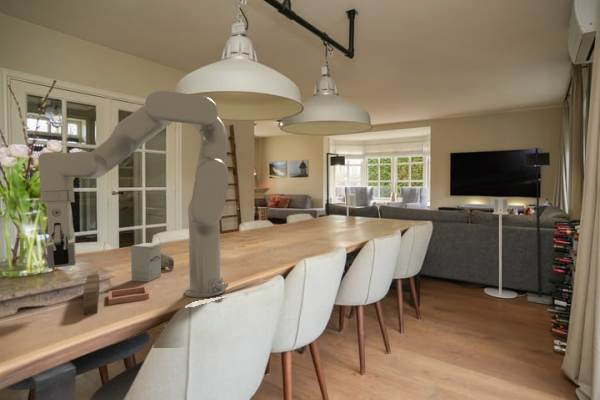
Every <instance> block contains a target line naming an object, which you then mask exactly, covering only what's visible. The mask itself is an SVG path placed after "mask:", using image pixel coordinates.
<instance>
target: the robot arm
mask: <svg viewBox="0 0 600 400" xmlns="http://www.w3.org/2000/svg"><path fill="white" fill-rule="evenodd" d="M144 102H145V103H144V105H142V106H141V107H139V108H138V109H137V110H135V111H134V112H132V113H130V114H129V115H128V116H126V117H125V118H124V119H122V120H121V121H119V122H118V123H117V124H116V126H115V127H114V129H113V131H112V133H111V135H110V136H109V137H108V138H107V139H106V140H105V141H104V142H103V143H102V144H100V145H99V146H98V147H96V148H94V149H93V150H92V151H85V150H84V151H82V150H81V151H72V152H54V151H53V152H49V151H48V152H42V153H39V155H38V159H37V160H38V161H37V162H38V176H39V187H40V189H39V190H40V203H41V204H42V205H43V204H44V205H45V204H46V216H47V218H46V219H47V230H48V236H49V237H48V238H49V239H50V240H52V241H53V243H52V244H53V246H54V251H53V255H54V265H62V264H68V262H69V261H68V249H66V243H67V242H69V239H71V238H72V237H73V236H74V234H75V231H74V223H73V222H74V221H73V220H74V219H73V210H72V205H71V203H75V190H74V189H75V188H74V186H75V185H74V178H77V179H78V178H79V179H91V180H93V179H99V178H101V177H103V176H105V175H106V174H108V173H109V172H110V171H111V170H113V169H114V168H115V167H117V166H118V165H120V164H121V163H122V162H124V160H126V158H128V157H129V156H130V155H132V154H133V153H134V152H136V151H137V150H138V149H140V147H142V146H143V145H144V144H146V143H147V142H148V141H150V140H151V139H152V138H154V137H155V136H157V134H159V133H161V132H162V131H163V130H164V129H165V130H166V128H167V127H168V126H170V125H171V124H172V123H181V124H188V125H189V124H190V126H192V128H193V129H195V130H196V131H197V133H199V137H200V142H199V152H198V159H197V163H196V166H195V169H194V183H193V190H192V195H191V196H192V197H191V199H190V200H189V203H188V208H187V212H188V213H187V217H188V239H189V241H188V243H189V244H188V248H189V253H188V254H189V257H188V258H189V260H188V261H189V262H188V263H189V286H187V287H186V288H184V294H185V295H186V296H188V297H190V298H191V297H192V298H210V297H215V296H218V295H221V294H223V293H224V292H225V291H226V290H227V288H228V287H229V283H228V282H224V277H221V228H220V226H221V225H220V224H221V223H220V220H221V218H222V217H223V214H224V211H225V205H226V199H227V194H228V193H227V192H228V186H229V180H230V178H229V177H230V173H229V168H228V166H227V165H226V163H227V154H228V145H229V135H228V131H227V129H226V127H225V124H224V122H223V121H222V120H221V119H220V118H219V109H218V106H217V104H216V102H215V101H214V100H212V99H211V98H210V97H208V96H205V95H201V94H191V93H185V92H178V91H177V92H176V91H170V90H156V91H153V92H150V94H148V95H147V97H146V98H145V101H144Z"/></svg>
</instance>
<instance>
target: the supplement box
mask: <svg viewBox="0 0 600 400" xmlns="http://www.w3.org/2000/svg"><path fill="white" fill-rule="evenodd" d="M161 249H162V248H161V243H160V242H159V243H158V242H144V243H140V244H134V245H131V246H130V253H131V254H130V257H131V258H130V259H131V261H130V262H131V265H130V266H131V281H134V282H135V281H136V282H151V281H153V280H155V279H157V278H160V277H161V276H162V268H161V252H162V251H161Z"/></svg>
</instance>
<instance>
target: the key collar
mask: <svg viewBox="0 0 600 400" xmlns="http://www.w3.org/2000/svg"><path fill="white" fill-rule="evenodd" d="M136 293H137V294H136ZM115 296H116V297H115ZM118 296H119V297H118ZM146 299H147V300H148V299H150V292H149V289H148V287H147V285H145V286H137V287H130V288H122V289H114V290H109V291H108V305H115V304H120V303H121V304H123V303H128V302H133V301H135V302H136V301H139V300H140V301H141V300H146Z"/></svg>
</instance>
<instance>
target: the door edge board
mask: <svg viewBox="0 0 600 400" xmlns="http://www.w3.org/2000/svg"><path fill="white" fill-rule="evenodd" d="M85 280H86V281H85V284H84V289H83V293H82V295H83V315H84V316H88V315H93V314H98V311H99V310H98V308H99V298H100V276H99V273H95V274H92V273H91V274H87V276H86V279H85Z"/></svg>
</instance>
